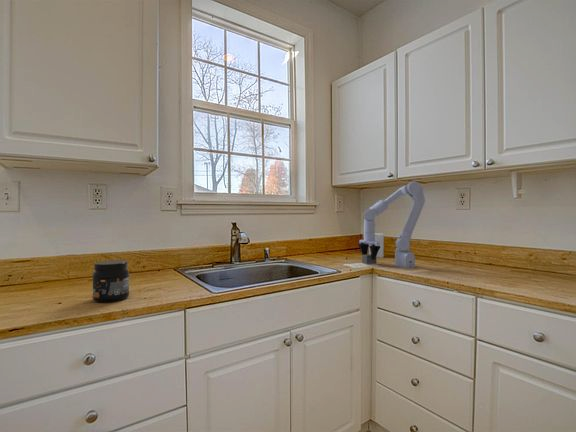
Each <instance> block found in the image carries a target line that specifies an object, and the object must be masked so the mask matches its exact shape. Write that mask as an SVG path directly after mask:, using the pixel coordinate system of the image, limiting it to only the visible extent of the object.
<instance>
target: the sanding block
mask: <svg viewBox="0 0 576 432" xmlns="http://www.w3.org/2000/svg"><path fill="white" fill-rule="evenodd" d="M361 258H362V260H361V263H362V264H363V265H377V258H376V259H375V260H372V259H371V254H369V253H367V254H366V255H362V254H361Z"/></svg>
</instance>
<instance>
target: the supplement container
mask: <svg viewBox="0 0 576 432" xmlns="http://www.w3.org/2000/svg"><path fill="white" fill-rule="evenodd" d="M128 262H129V261H127V260H123V259H122V260H121V259H120V260H119V259H118V260H117V259H116V260H104V261H103V260H102V261H97V262H94V263H93V270H94V272H93V273H92V275H91V278H92V300H93V302H95V303H100V304H101V303H102V304H108V303H115V302H120V301H123V300H125V299H127V298H128V297H129V295H130V270H128V266H129V265H128V264H129V263H128Z"/></svg>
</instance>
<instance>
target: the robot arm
mask: <svg viewBox="0 0 576 432" xmlns="http://www.w3.org/2000/svg"><path fill="white" fill-rule="evenodd" d="M406 195H409V196H410V197H411V199H412V201H413V204H412V206H411V209H410V210H409V214H408V216H407V218H406V221H405V223H404V226H403V228H402V231H401V232H400V234H399V236H398V237H397V238H396V240H395V242H394V243H395V246H396V248H395V249H394V266H395V267H398V268H404V269H410V268H413V269H414V268H416V255H415V254H414V253H413V252H411V249H409V248H410V246H411V243H410V242H411V239H412V234H413V231H414V230H415V227H416V226H417V224H418V223H417V222H418V220H419V218H420V215H421V212H422V211H423V207H424V205H425V203H426V198H425V194H424V189H423V187H422V185H421V184H420V182H418V181H414V180H413V181H410V182H409V183H408V184H405V185H404V186H402V187H399V188H398V189H397V190H396V191H395V192H394V191H393V193H392V194H391V195H389V196H388V197H387V198H386V199H380V200H378V199H377V201H376V203H374V204H373V205H372V206H369V207H368V209H366V210H365V211H364V212H363V218H364V219H363V239H359V244H358V247H359V249H360V252H361V256H362V255H366V254H368V251H369V247H370V251H371V259H372V260H375V259H376V260H377V257H376V256H377V253H378V251H379V249H380V242H377V241H375V233H376V223H375V218H376V216H379V215H382V214H383V213H384V212H385V211H387V210H388V208H389V205H390V204H392V203H393V202H394V201H396V200H397V199H399V198H400V197H401V196H406ZM369 243H370V244H369ZM369 245H373V246H369Z"/></svg>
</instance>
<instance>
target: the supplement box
mask: <svg viewBox="0 0 576 432" xmlns="http://www.w3.org/2000/svg"><path fill="white" fill-rule="evenodd" d="M384 236H385V234H384V233H381V232H378V233H377V232H375V241H377V242H380V249H379V251H378V253H377V256H376V258H383V259H384V250H385V249H384V248H385V246H384V245H385V242H384V239H385V237H384ZM369 244H370V243H369ZM369 246H373V245H369ZM368 254H371V251H370V247H368Z"/></svg>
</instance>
